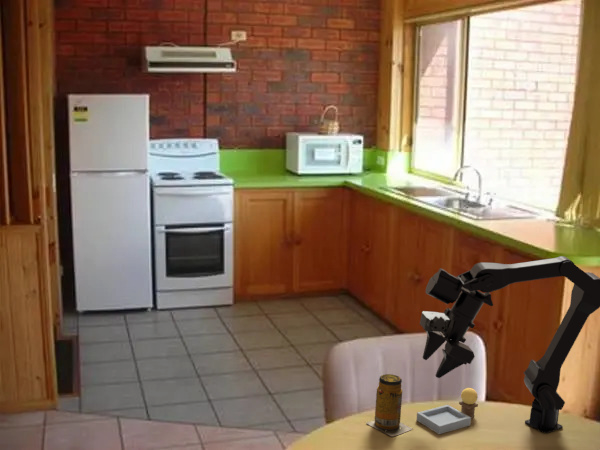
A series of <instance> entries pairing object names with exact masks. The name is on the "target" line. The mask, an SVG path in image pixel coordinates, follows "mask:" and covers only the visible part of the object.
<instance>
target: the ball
mask: <svg viewBox="0 0 600 450" xmlns="http://www.w3.org/2000/svg"><path fill="white" fill-rule="evenodd" d="M460 398H461V401H463V402H464V403H466V404H469V405H470V404H474V403H477V400H478V392H477V391H476V390H475V389H473V388H471V387H466V388H464V389H463V390H462V391H461V394H460Z"/></svg>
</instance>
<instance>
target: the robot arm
mask: <svg viewBox="0 0 600 450" xmlns="http://www.w3.org/2000/svg"><path fill="white" fill-rule="evenodd" d="M559 277H565V278H566V279H567V280H569V281H570V282H571V283H573V286H572V290H571V295H570V302H569V303H570V304H569V307H568V309H567V311H566V313H565V315H563V316H564V317H563V319H562V320H561V322H560V324H559V326H558V328H557V330H556V331H555V333H554V335H553V337H552V339H551V340H550V343H549V345H548V347H547V348H546V351H544V352H545V353H544V355H542V357H541V358H540V359H538V360H537V361H536V360H533V359H530V361H529V364H528V366H527V368H526V370H525V371H523V374H524V378H523V382H524V384H525V386H526V388H527V389H528V390H529V392H530V393H531V395H532V396H533V398H534V399H533V401H532V402H531V408H530V414H529V419H526V420H524V423H525V424H526V425H529V426H530V427H532V428H534V429H536V430H537V431H539V432H541V433H544V434H548V433H552V432H555V431H558V430H561V429H563V427H564V426H563V425H562V424H560V423H559V415H560V411H561V410H563V408H564V406H565V404H566V402H565V400H564V399H563V398H562V397H561V395H560V393H558V391H557V390H558V387H559V384H560V380H561V379H560V378H561V377H560V376H561V371H562V370H561V369H562V367H563V365H564V363H565V361H566V359H567V357H568V355H569V354H570V351H571V350H572V348H573V346H574V344H575V342H576V341H577V339H578V337H579V335H580V333H581V331H582V329H583V328H584V326H585V323H586V322H587V320H588V318H589V317H590V315H592V314H593V313H595V312H596V311H597V310H599V309H600V277H599V276H598V275H596V274H595V273H593V272H585V271H584V270H582V269H581V268H580V267H578V265H576V264H575V262H574V261H572V260H571V259H569V258H568V257H567V256H563V255H560V256H558V257H554V258H545V259H539V260H533V261H524V262H517V263H512V264H511V263H509V264H507V263H505V264H504V263H499V262H498V263H497V262H477V263H475V264H474V265H473V266H472V267H471V269H469V270H467V271H465V272H463V273H460V274H459V275H456V276H455V275H453V274H451V273H449V272H448V271H447V270H446V269H443V268H439V269H438V271H437V272H435V273H434V274H433V276H431V277H430V279H429V280H428V283H427V284H426V288H425V294H426V295H429V296H430V297H432V298H433V299H436V300H438V301H440V302H442V303H444V304H445V305H450V304H453V305H452V307H451V308H449V307H446V308H445V310H444V311H443V312H438V311H426V310H423V311H422V312H421V315H420V321H419V325H420V326H421V327H422V329H423V330H424V331H425V333H426V342H425V346H424V348H423V349H424V350H423V355H422V359H423V360H425V361H427V360H428V359H430V358H431V357H432V355H433V354H434V353H436V351H438V349H439V348H441V346H442V345H444V348H442V349H441V350H442V354H443V356H442V359H441V362H440V363H439V366H438V368H437V370H436V372H435V377H436V378H437V379H441V378H443V377H444V376H445V375H447V374H449V373H450V372H451V371H453V370H455V369H456V368H460V366H462V365H467V364H469V365H471V364H472V362H473V361H474V359H475V356H476V355H475V353H474V350H472V349H471V348H470V346H469V345H467V344H465V342H467V339H466V338H465V335H466V333H467V331H468V330H469V329H470V328H471V329H474V328H475V326H476V324H475V323H474V321H475V319H476V317H477V315H478V314H479V312H480V310H481V309H482V306H484V304H486V305H487V306H489V307H493V306H494V303H493V301H492V294H491V293H492V292H495V291H499V290H501V289H504V288H506V287H508V286H510V285H512V284H517V283H521V282H529V281H530V282H531V281H536V280H543V279H551V278H559ZM444 343H445V344H444Z"/></svg>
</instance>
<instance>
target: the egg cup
mask: <svg viewBox="0 0 600 450" xmlns="http://www.w3.org/2000/svg"><path fill="white" fill-rule="evenodd" d="M458 404H459V405H460V406H461V409H460V410H461V411H460V412H462V413H464V414H466V415H467V416H469V417H471V419H472V418H473V417H475V410H476V408H478V406H479V404H478V403H477V402H475V403H474V404H470V405H469V404H466V403H464V402H463V401H462V400H460V401H458Z"/></svg>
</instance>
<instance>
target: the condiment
mask: <svg viewBox="0 0 600 450" xmlns="http://www.w3.org/2000/svg"><path fill="white" fill-rule="evenodd" d="M378 381H379V382H378V387H376V395H375V409H374V410H375V411H374V419H373V420H371V421H368V422H366V424H367V425H369V426H370V427H372V428H374V429H376V430H378V431H381V432H382V433H383V434H386V435H388V436H390V437H396V436H398V435H401V434H405V433H406V432H409V431H411V430H413V428H412V427H411V426H409V425H406V424H404V423H402V422H401V417H402V416H401V413H402V403H403V389H402V383H403V380H402V378H401V377H400V376H399V375H396V374H393V373H387V374H382V375H380V376H379V379H378Z"/></svg>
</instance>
